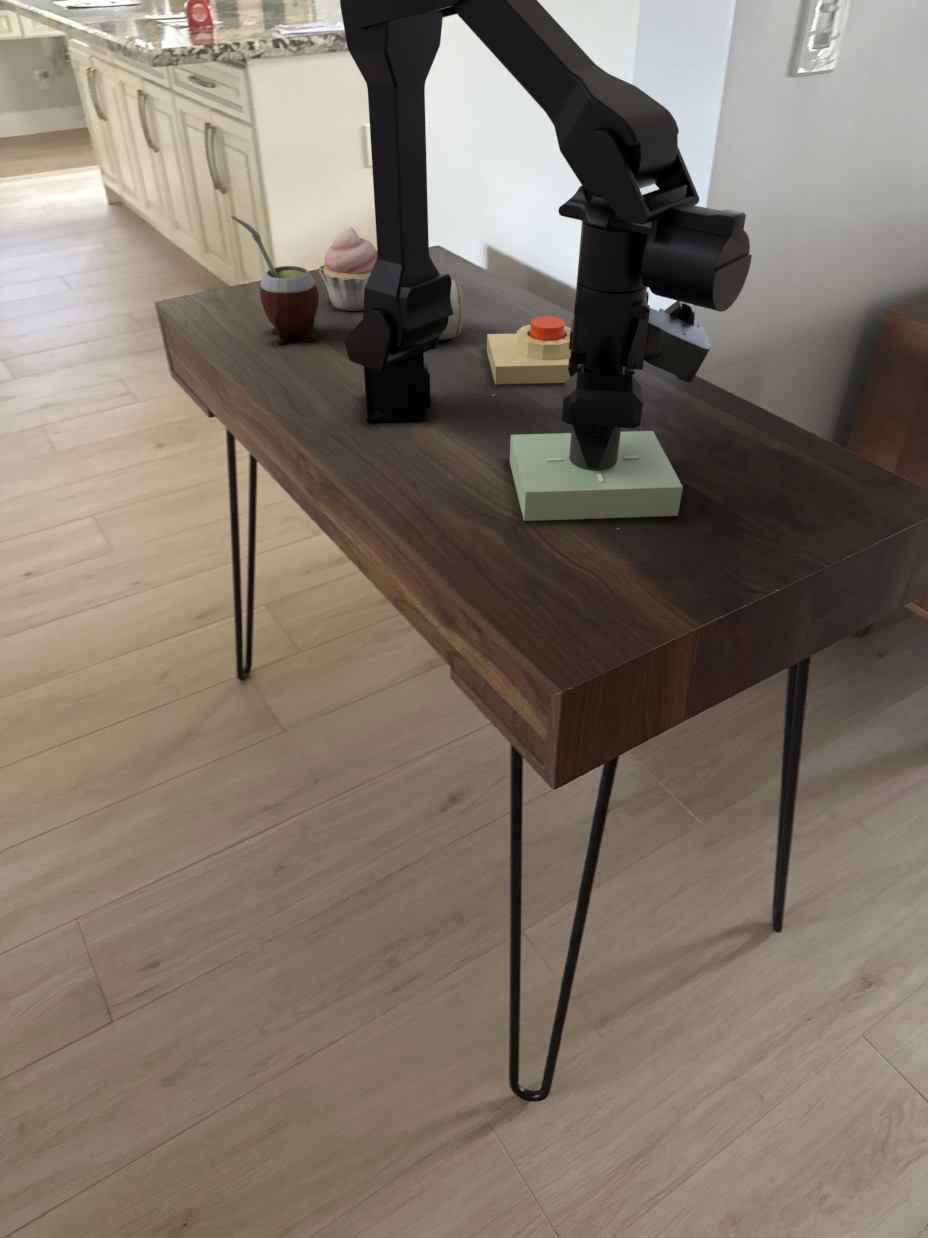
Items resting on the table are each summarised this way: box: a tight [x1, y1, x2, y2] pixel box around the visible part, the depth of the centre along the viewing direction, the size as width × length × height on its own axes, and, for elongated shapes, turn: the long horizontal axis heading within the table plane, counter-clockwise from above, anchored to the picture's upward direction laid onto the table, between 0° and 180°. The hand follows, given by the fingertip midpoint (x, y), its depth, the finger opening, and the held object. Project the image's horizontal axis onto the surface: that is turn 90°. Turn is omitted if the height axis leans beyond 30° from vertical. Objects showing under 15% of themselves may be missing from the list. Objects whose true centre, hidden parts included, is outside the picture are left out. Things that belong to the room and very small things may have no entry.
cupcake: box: [318, 226, 377, 312], centre depth 121 cm, size 9×9×10 cm
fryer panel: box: [509, 430, 684, 522], centre depth 84 cm, size 14×11×3 cm
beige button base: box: [486, 324, 571, 385], centre depth 106 cm, size 13×10×4 cm
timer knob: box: [569, 426, 622, 470], centre depth 82 cm, size 4×4×4 cm
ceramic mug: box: [439, 279, 464, 341], centre depth 113 cm, size 11×8×8 cm
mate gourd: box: [230, 214, 320, 346], centre depth 109 cm, size 8×8×15 cm
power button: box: [529, 315, 566, 341], centre depth 105 cm, size 4×4×2 cm
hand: (593, 454), depth 83 cm, fingers closed on timer knob, 4 cm apart
